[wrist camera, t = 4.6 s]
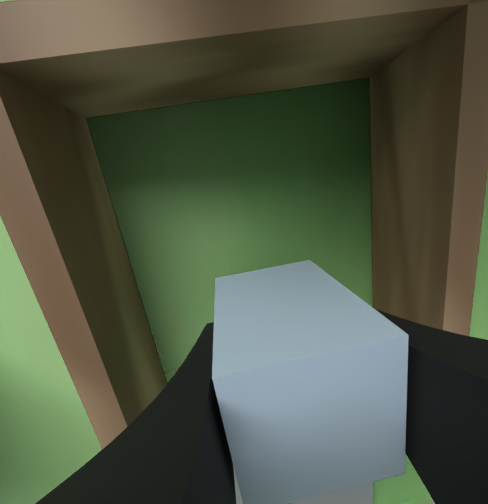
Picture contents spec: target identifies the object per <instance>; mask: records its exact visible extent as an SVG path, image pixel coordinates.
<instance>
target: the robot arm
mask: <svg viewBox="0 0 488 504" xmlns="http://www.w3.org/2000/svg"><path fill="white" fill-rule="evenodd" d="M375 310H376V311H378V312H379V313H380V314H382V315H383V316H384V317H386V318H387V319H388V320H390V321H391V322H392V323H394V324H395V325H396V326H398V327H399V328H400V329H402V330H403V331H404V332H405V333H407V334H408V335H409V337H408V373H407V409H406V445H405V453H406V455H407V456H408V458H409V460H410V461H411V463H412V465H413V466H414V468H415V470H416V471H417V473H418V475H419V477H420V478H421V480H422V482H423V483H424V485H425V487H426V488H427V490H428V492H429V493H430V495H431V497H432V499H433V500H434V502H435V504H488V340H485V339H480V338H475V337H470V336H466V335H461V334H457V333H453V332H449V331H445V330H441V329H437V328H433V327H429V326H426V325H422V324H419V323H416V322H412V321H409V320H406V319H403V318H400V317H397V316H394V315H391V314H388V313H385V312H383V311H380V310H377V309H375ZM213 332H214V322H213V323H208V324H207V325H206V326H205V327H204V329H203V331H202V333H201V335H200V336H199V338H198V340H197V342H196V343H195V345H194V347H193V348H192V350H191V351H190V353H189V355H188V356H187V358H186V359H185V361H184V362H183V364H182V365H181V366H180V368H179V369H178V371H177V372H176V373H175V375H174V376H173V377H172V379H171V380H170V381H169V383H168V384H167V385H166V386H165V388H164V389H163V390H162V391H161V392H160V393H159V394H158V396H157V397H156V398H155V399H154V400H153V401H152V402H151V403H150V404H149V405H148V406H147V407H146V408H145V409H144V410H143V412H142V413H141V414H140V415H139V416H138V417H137V418H136V419H135V420H134V421H133V422H132V423H131V424H130V425H129V426H128V427H127V428H126V429H125V430H123V431H122V432H121V433H120V434H119V435H118V436H117V437H116V438H115V439H114V440H113V441H112V442H110V443H109V444H108V445H107V446H106V447H105V448H104V449H102V450H101V451H100V452H99V453H98V454H97V455H96V456H94V457H93V458H92V459H91V460H90V461H89V462H87V463H86V464H85V465H84V466H83V467H81V468H80V469H79V470H78V471H76V472H75V473H74V474H73V475H71V476H70V477H69V478H67V479H66V480H65V481H64V482H62V483H61V484H60V485H59V486H57V487H56V488H55V489H54V490H52V491H51V492H50V493H49V494H47V495H46V496H45V497H43V498H42V499H41V500H40V501H38V502H37V503H36V504H236V493H235V480H234V467H233V461H232V457H231V453H230V449H229V445H228V441H227V437H226V433H225V429H224V425H223V421H222V417H221V412H220V408H219V404H218V400H217V396H216V392H215V388H214V384H213V380H212V361H213Z"/></svg>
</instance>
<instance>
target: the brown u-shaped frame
mask: <svg viewBox="0 0 488 504" xmlns="http://www.w3.org/2000/svg"><path fill="white" fill-rule="evenodd" d="M369 77H370V126H371V197H372V267H373V308H374V309H377V310H380V311H383V312H385V313H388V314H391V315H394V316H397V317H400V318H403V319H406V320H409V321H412V322H416V323H419V324H422V325H426V326H429V327H433V328H437V329H441V330H445V331H449V332H453V333H457V334H461V335H466V336H469V332H470V323H471V314H472V305H473V296H474V287H475V278H476V269H477V261H478V252H479V243H480V234H481V225H482V216H483V207H484V198H485V189H486V180H487V171H488V0H14V1H5V2H0V216H1V218H2V220H3V223H4V225H5V227H6V230H7V232H8V234H9V236H10V239H11V241H12V243H13V246H14V248H15V250H16V252H17V255H18V257H19V259H20V262H21V264H22V266H23V268H24V271H25V273H26V275H27V278H28V280H29V282H30V284H31V287H32V289H33V291H34V294H35V296H36V298H37V301H38V303H39V305H40V307H41V310H42V312H43V314H44V317H45V319H46V321H47V323H48V326H49V328H50V330H51V333H52V335H53V337H54V339H55V342H56V344H57V346H58V349H59V351H60V353H61V355H62V358H63V360H64V362H65V365H66V367H67V369H68V371H69V374H70V376H71V378H72V381H73V383H74V385H75V387H76V390H77V392H78V394H79V397H80V399H81V401H82V403H83V406H84V408H85V410H86V413H87V415H88V417H89V419H90V422H91V424H92V426H93V429H94V431H95V433H96V435H97V438H98V440H99V442H100V445H101V447H102V449H104V448H105V447H106V446H107V445H108V444H109V443H110V442H112V441H113V440H114V439H115V438H116V437H117V436H118V435H119V434H120V433H121V432H122V431H123V430H125V429H126V428H127V427H128V426H129V425H130V424H131V423H132V422H133V421H134V420H135V419H136V418H137V417H138V416H139V415H140V414H141V413H142V412H143V410H144V409H145V408H146V407H147V406H148V405H149V404H150V403H151V402H152V401H153V400H154V399H155V398H156V397H157V396H158V394H159V393H160V392H161V391H162V390H163V389H164V388H165V386H166V385H167V382H166V379H165V376H164V373H163V369H162V366H161V363H160V360H159V356H158V353H157V350H156V347H155V343H154V340H153V337H152V333H151V330H150V327H149V324H148V320H147V317H146V314H145V311H144V307H143V304H142V301H141V298H140V294H139V291H138V288H137V284H136V281H135V278H134V275H133V271H132V268H131V265H130V262H129V258H128V255H127V252H126V249H125V245H124V242H123V239H122V235H121V232H120V229H119V226H118V222H117V219H116V216H115V213H114V209H113V206H112V203H111V200H110V196H109V193H108V190H107V186H106V183H105V180H104V177H103V173H102V170H101V167H100V164H99V160H98V157H97V154H96V151H95V147H94V144H93V141H92V137H91V134H90V131H89V128H88V124H87V121H86V118H89V117H96V116H103V115H110V114H117V113H124V112H131V111H138V110H145V109H152V108H159V107H166V106H173V105H180V104H187V103H194V102H201V101H208V100H215V99H222V98H229V97H236V96H243V95H250V94H257V93H264V92H271V91H278V90H285V89H292V88H299V87H306V86H313V85H320V84H327V83H334V82H341V81H348V80H355V79H362V78H369Z"/></svg>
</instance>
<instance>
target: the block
mask: <svg viewBox="0 0 488 504" xmlns="http://www.w3.org/2000/svg"><path fill="white" fill-rule="evenodd" d="M408 337H409V335H408V334H407V333H405V332H404V331H403V330H402V329H400V328H399V327H398V326H396V325H395V324H394V323H392V322H391V321H390V320H388V319H387V318H386V317H384V316H383V315H382V314H380V313H379V312H378V311H376V310H375V309H374V308H373V307H371V306H370V305H369V304H367V303H366V302H365V301H363V300H362V299H361V298H359V297H358V296H357V295H355V294H354V293H353V292H351V291H350V290H349V289H348V288H346V287H345V286H344V285H342V284H341V283H340V282H338V281H337V280H336V279H334V278H333V277H332V276H330V275H329V274H328V273H326V272H325V271H324V270H322V269H321V268H320V267H319V266H317V265H316V264H315V263H313V262H312V261H311V260H306V261H301V262H295V263H290V264H285V265H280V266H275V267H269V268H264V269H259V270H254V271H249V272H244V273H238V274H233V275H228V276H223V277H218V278H215V303H214V332H213V361H212V380H213V384H214V388H215V392H216V396H217V400H218V404H219V408H220V412H221V417H222V421H223V425H224V429H225V433H226V437H227V441H228V445H229V449H230V453H231V457H232V461H233V465H234V469H235V474H236V478H237V482H238V486H239V490H240V494H241V498H242V502H243V504H288V503H292V502H296V501H300V500H304V499H308V498H312V497H316V496H320V495H324V494H327V493H331V492H335V491H339V490H343V489H347V488H351V487H355V486H359V485H363V484H367V483H371V482H375V481H379V480H382V479H386V478H390V477H394V476H398V475H402V474H405V445H406V409H407V373H408Z"/></svg>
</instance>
